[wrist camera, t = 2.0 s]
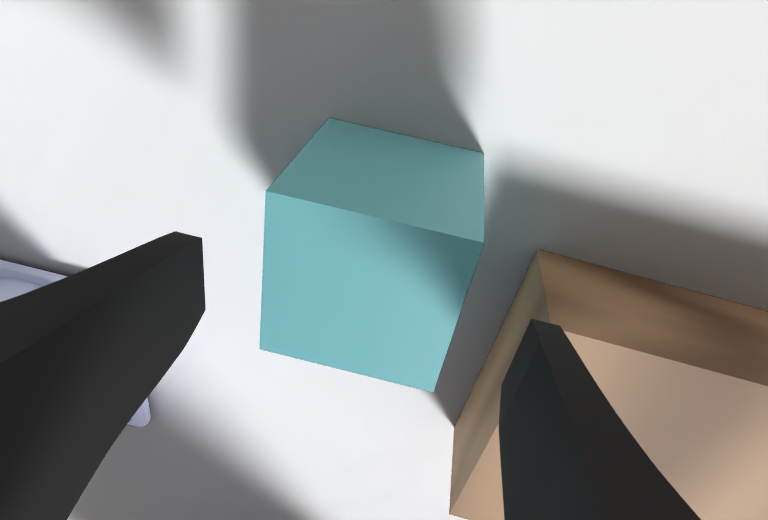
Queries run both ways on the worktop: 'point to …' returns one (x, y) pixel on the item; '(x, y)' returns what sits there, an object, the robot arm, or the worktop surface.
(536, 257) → the tan square block
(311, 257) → the teal block
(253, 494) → the worktop surface
